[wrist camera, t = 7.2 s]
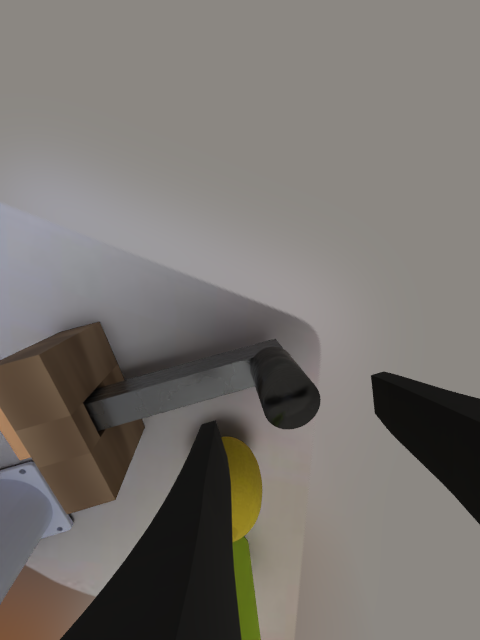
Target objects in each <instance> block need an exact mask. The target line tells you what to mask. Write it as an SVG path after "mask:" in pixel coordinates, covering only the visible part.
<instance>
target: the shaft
mask: <svg viewBox="0 0 480 640" xmlns="http://www.w3.org/2000/svg"><path fill="white" fill-rule="evenodd" d="M254 386H255V387H256V390H257V393H258V396H259V399H260V402H261V405H262V408H263V411H264V414H265V416H266V418H267V419H268V421H269V422H270V423H271V424H273V425H274V426H276V427H278V428H282V429H295V428H298V427H301V426H303V425H305V424H307V423H308V422H309V421H310V420H311V419H313V417H314V416H315V415H316V413H317V411H318V409H319V406H320V394H319V391H318V389H317V388H316V386H315V385H314V384H313V383H312V381H311V380H310V379H309V378H308V377H307V375H306V374H305V373H304V372H303V370H302V369H301V368H300V367H299V366H298V364H297V363H296V362H295V361H294V359H293V358H292V357H291V356H290V354H289V353H288V352H287V351H285V350H284V349H283V348H282V346H281V345H280V344H279V343H278V341H277V340H276V339H273V340H269V341H265V342H262V343H258V344H255V345H251V346H247V347H244V348H240V349H237V350H233V351H229V352H226V353H222V354H218V355H215V356H211V357H208V358H204V359H200V360H197V361H193V362H190V363H186V364H182V365H179V366H175V367H171V368H168V369H164V370H161V371H157V372H153V373H150V374H146V375H143V376H139V377H135V378H132V379H128V380H125V381H121V382H117V383H114V384H110V385H106V386H103V387H99V388H96V389H95V390H94V391H93V392H92V393H91V394H90V395H89V396H88V397H87V398H86V400H85V401H84V402H83V404H84V406H85V408H86V410H87V412H88V414H89V416H90V418H91V420H92V422H93V424H94V426H95V428H96V430H97V431H100V430H103V429H107V428H110V427H114V426H117V425H121V424H124V423H128V422H131V421H135V420H138V419H142V418H145V417H149V416H152V415H156V414H159V413H163V412H166V411H170V410H173V409H177V408H180V407H184V406H187V405H191V404H194V403H198V402H201V401H205V400H208V399H212V398H215V397H219V396H222V395H226V394H229V393H233V392H236V391H240V390H243V389H247V388H250V387H254Z"/></svg>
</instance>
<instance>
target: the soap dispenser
mask: <svg viewBox="0 0 480 640" xmlns="http://www.w3.org/2000/svg"><path fill="white" fill-rule="evenodd" d="M233 560H234V572H235V582H236V592H237V602H238V611H239V621H240V630H241V639H242V640H261V638H260V630H259V622H258V615H257V607H256V599H255V591H254V583H253V575H252V568H251V560H250V552H249V545H248V541H247V540H246V538H245V537H244V536H243V537H242V538H241V539H239V540H237V541H234V542H233Z"/></svg>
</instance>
